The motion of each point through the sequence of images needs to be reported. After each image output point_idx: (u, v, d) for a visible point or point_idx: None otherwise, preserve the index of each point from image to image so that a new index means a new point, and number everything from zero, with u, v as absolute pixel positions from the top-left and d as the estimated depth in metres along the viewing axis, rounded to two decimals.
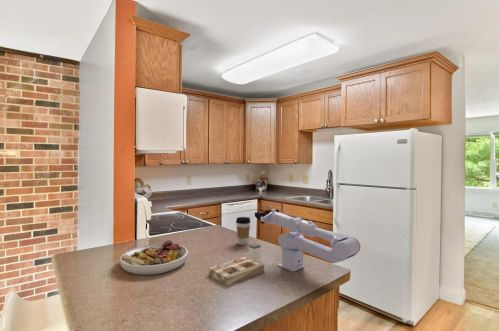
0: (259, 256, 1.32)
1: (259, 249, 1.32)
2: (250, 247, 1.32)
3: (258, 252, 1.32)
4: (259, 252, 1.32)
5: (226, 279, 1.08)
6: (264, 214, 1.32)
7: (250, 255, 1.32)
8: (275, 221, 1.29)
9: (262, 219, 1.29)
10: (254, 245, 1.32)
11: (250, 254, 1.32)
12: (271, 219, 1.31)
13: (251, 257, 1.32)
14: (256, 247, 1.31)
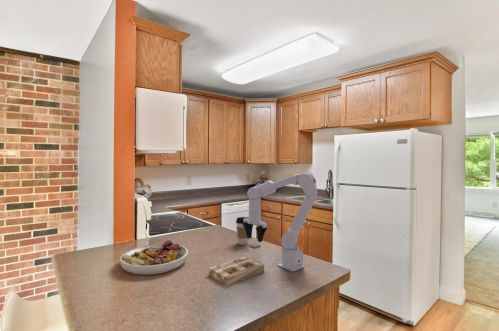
0: (259, 256, 1.32)
1: (259, 249, 1.32)
2: (250, 247, 1.32)
3: (258, 252, 1.32)
4: (259, 252, 1.32)
5: (226, 279, 1.08)
6: (258, 227, 1.28)
7: (250, 255, 1.32)
8: (259, 214, 1.30)
9: (265, 224, 1.27)
10: (254, 245, 1.32)
11: (250, 254, 1.32)
12: (259, 219, 1.30)
13: (251, 257, 1.32)
14: (256, 247, 1.31)
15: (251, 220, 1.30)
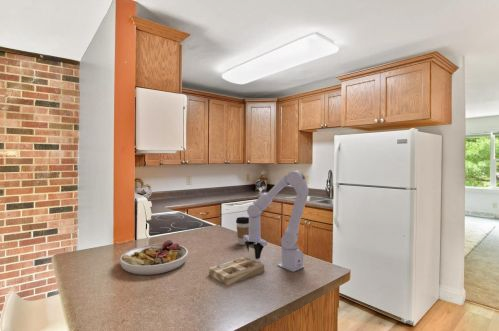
0: None
1: None
2: (250, 247, 1.32)
3: None
4: None
5: (226, 279, 1.08)
6: (258, 245, 1.28)
7: (250, 255, 1.32)
8: (259, 231, 1.31)
9: (265, 242, 1.27)
10: None
11: (250, 254, 1.32)
12: (259, 237, 1.31)
13: (251, 257, 1.32)
14: None
15: (251, 238, 1.30)
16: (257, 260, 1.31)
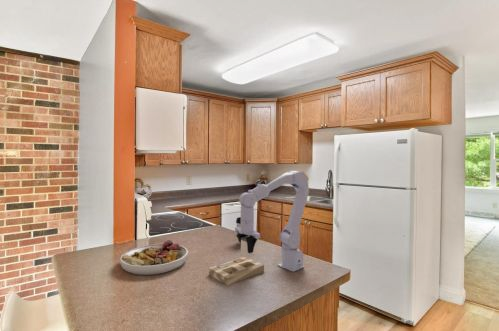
0: None
1: None
2: (242, 240, 1.20)
3: None
4: None
5: (226, 279, 1.08)
6: (251, 238, 1.16)
7: (242, 249, 1.20)
8: (252, 223, 1.19)
9: (258, 235, 1.15)
10: None
11: (242, 248, 1.20)
12: (251, 229, 1.18)
13: (243, 252, 1.20)
14: None
15: (243, 230, 1.18)
16: (250, 254, 1.19)
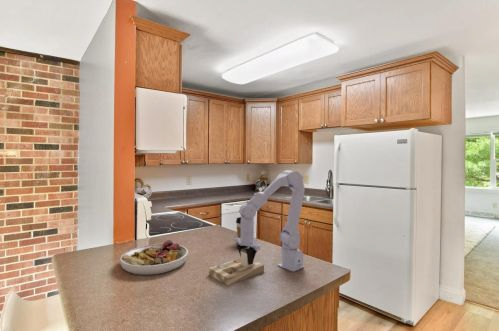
0: None
1: None
2: (242, 251, 1.20)
3: None
4: None
5: (226, 279, 1.08)
6: (251, 249, 1.16)
7: (242, 260, 1.20)
8: (252, 234, 1.19)
9: (258, 247, 1.15)
10: None
11: (242, 259, 1.20)
12: (251, 240, 1.19)
13: (243, 263, 1.20)
14: None
15: (243, 241, 1.18)
16: (250, 266, 1.19)
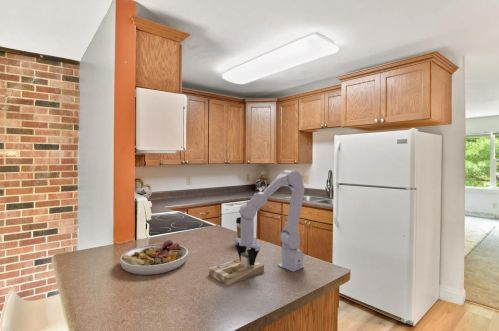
0: None
1: None
2: (242, 256, 1.20)
3: None
4: None
5: (226, 279, 1.08)
6: (251, 250, 1.16)
7: (242, 265, 1.20)
8: (252, 234, 1.19)
9: (258, 247, 1.15)
10: (246, 254, 1.20)
11: (242, 263, 1.20)
12: (251, 241, 1.19)
13: None
14: None
15: (243, 242, 1.18)
16: None
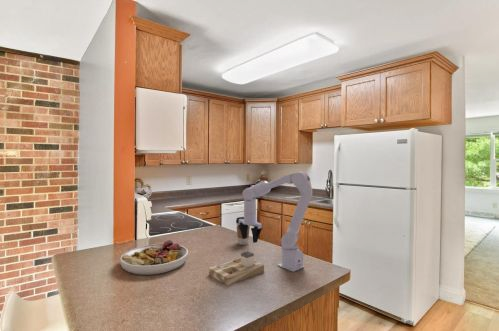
0: None
1: (252, 258, 1.20)
2: (242, 256, 1.20)
3: (251, 261, 1.20)
4: (252, 261, 1.20)
5: (226, 279, 1.08)
6: (253, 228, 1.29)
7: (242, 265, 1.20)
8: (254, 214, 1.31)
9: (260, 225, 1.28)
10: (246, 254, 1.20)
11: (242, 263, 1.20)
12: (254, 220, 1.31)
13: None
14: (249, 256, 1.19)
15: (246, 221, 1.31)
16: None
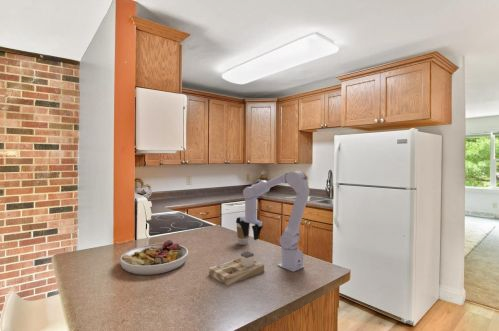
0: None
1: (252, 258, 1.20)
2: (242, 256, 1.20)
3: (251, 261, 1.20)
4: (252, 261, 1.20)
5: (226, 279, 1.08)
6: (254, 225, 1.33)
7: (242, 265, 1.20)
8: (255, 212, 1.36)
9: (260, 223, 1.32)
10: (246, 254, 1.20)
11: (242, 263, 1.20)
12: (255, 218, 1.35)
13: None
14: (249, 256, 1.19)
15: (247, 219, 1.35)
16: None
